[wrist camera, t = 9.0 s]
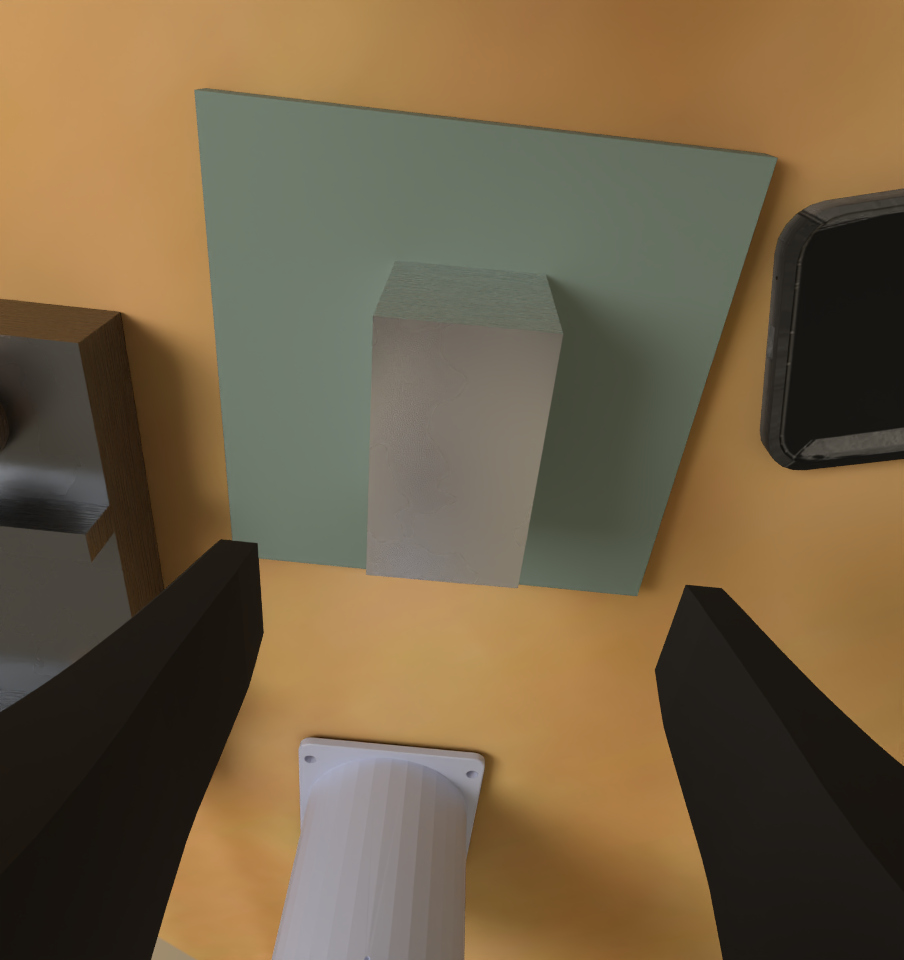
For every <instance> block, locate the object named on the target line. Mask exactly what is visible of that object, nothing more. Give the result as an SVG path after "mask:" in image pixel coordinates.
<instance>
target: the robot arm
mask: <svg viewBox="0 0 904 960" xmlns="http://www.w3.org/2000/svg"><path fill="white" fill-rule="evenodd" d="M263 633H264V631H263V616H262V601H261V586H260V571H259V556H258V543H253V542H243V541H232V540H222V539H221V540H220V541H218V542H217V543H216V544H215V545H213V546H212V547H211V548H210V549H209V550H208V551H207V552H206V553H204V554H203V555H202V556H201V557H200V558H199V559H198V560H197V561H196V562H195V563H193V564H192V565H191V566H190V567H189V568H188V569H187V570H186V571H185V572H184V573H182V574H181V575H180V576H179V577H178V578H177V579H176V580H175V581H173V582H172V583H171V584H170V585H169V586H168V587H167V588H166V589H164V590H163V591H162V592H161V593H160V594H159V595H158V596H156V597H155V598H154V599H153V600H152V601H150V602H149V603H148V604H147V605H146V606H145V607H143V608H142V609H141V610H140V611H139V612H138V613H136V614H135V615H134V616H133V617H132V618H131V619H129V620H128V621H127V622H126V623H124V624H123V625H122V626H121V627H120V628H118V629H117V630H116V631H114V632H113V633H112V634H111V635H109V636H108V637H107V638H105V639H104V640H103V641H102V642H100V643H99V644H98V645H96V646H95V647H94V648H92V649H91V650H90V651H89V652H87V653H86V654H85V655H83V656H82V657H81V658H80V659H78V660H77V661H75V662H74V663H73V664H71V665H70V666H69V667H67V668H66V669H64V670H63V671H62V672H60V673H59V674H57V675H56V676H55V677H53V678H52V679H50V680H49V681H47V682H46V683H44V684H43V685H42V686H40V687H39V688H37V689H35V690H34V691H32V692H31V693H29V694H28V695H26V696H25V697H23V698H22V699H20V700H19V701H17V702H16V703H14V704H12V705H11V706H9V707H8V708H6V709H4V710H3V711H1V712H0V960H151V958H152V954H153V951H154V947H155V944H156V940H157V937H158V934H159V930H160V927H161V923H162V920H163V916H164V913H165V910H166V906H167V903H168V900H169V896H170V893H171V890H172V887H173V883H174V880H175V877H176V874H177V870H178V867H179V864H180V861H181V857H182V854H183V851H184V848H185V844H186V841H187V838H188V836H189V833H190V830H191V828H192V825H193V822H194V819H195V817H196V814H197V811H198V809H199V807H200V804H201V802H202V799H203V797H204V795H205V792H206V790H207V787H208V785H209V783H210V780H211V778H212V775H213V773H214V770H215V768H216V766H217V763H218V761H219V758H220V756H221V754H222V751H223V749H224V746H225V744H226V742H227V739H228V737H229V734H230V732H231V730H232V727H233V725H234V722H235V720H236V717H237V715H238V712H239V710H240V708H241V705H242V703H243V700H244V698H245V695H246V693H247V690H248V688H249V684H250V681H251V677H252V674H253V670H254V667H255V663H256V660H257V656H258V652H259V648H260V644H261V641H262V637H263ZM655 674H656V681H657V688H658V695H659V702H660V708H661V714H662V720H663V725H664V729H665V733H666V737H667V740H668V744H669V747H670V751H671V754H672V758H673V761H674V765H675V768H676V772H677V775H678V779H679V782H680V785H681V789H682V792H683V796H684V799H685V802H686V806H687V809H688V813H689V816H690V819H691V823H692V826H693V830H694V833H695V836H696V840H697V843H698V846H699V850H700V853H701V857H702V861H703V865H704V869H705V873H706V877H707V881H708V885H709V889H710V894H711V899H712V905H713V910H714V915H715V920H716V925H717V931H718V936H719V941H720V946H721V952H722V957H723V960H904V766H903V765H902V764H900V763H899V762H898V761H897V760H895V759H894V758H893V757H892V756H891V755H890V754H888V753H887V752H886V751H885V750H884V749H883V748H882V747H880V746H879V745H878V744H877V743H876V742H875V741H874V740H872V739H871V738H870V737H869V736H868V735H867V734H866V733H865V732H864V731H863V730H862V729H861V728H859V727H858V726H857V725H856V724H855V723H854V722H853V721H852V720H851V719H850V718H849V717H848V716H846V715H845V714H844V713H843V712H842V711H841V710H840V709H839V708H838V707H837V706H836V705H835V704H834V703H833V702H832V701H831V700H830V699H829V698H828V697H827V696H826V695H825V694H823V693H822V692H821V691H820V690H819V689H818V688H817V687H816V686H815V685H814V684H813V683H812V682H811V681H810V680H809V679H808V678H807V677H806V676H805V675H804V674H803V673H802V671H801V670H800V669H799V668H798V667H797V666H796V665H795V664H794V663H793V662H792V661H791V660H790V659H789V658H788V657H787V656H786V655H785V654H784V653H783V652H782V651H781V650H780V649H779V648H778V647H777V646H776V644H775V643H774V642H773V641H772V640H771V639H770V638H769V637H768V636H767V635H766V634H765V633H764V632H763V631H762V630H761V629H760V628H759V626H758V625H757V624H756V623H755V622H754V621H753V620H752V619H751V618H750V617H749V616H748V615H747V614H746V613H745V612H744V611H743V609H742V608H741V607H740V606H739V605H738V604H737V603H736V602H735V601H734V600H733V599H732V598H731V597H730V596H729V595H728V594H727V593H726V592H725V591H724V590H723V589H722V588H714V587H703V586H693V585H686V586H685V588H684V591H683V594H682V597H681V599H680V602H679V605H678V608H677V610H676V613H675V616H674V619H673V622H672V624H671V627H670V630H669V633H668V635H667V638H666V641H665V644H664V646H663V649H662V652H661V655H660V657H659V660H658V663H657V666H656V668H655ZM484 769H485V758H484V757H483V756H482V755H480V754H478V753H473V752H462V751H452V750H441V749H430V748H420V747H409V746H398V745H388V744H377V743H366V742H356V741H345V740H335V739H324V738H313V737H309V738H305V739H303V740H302V741H301V743H300V747H299V781H300V820H301V834H300V838H299V842H298V847H297V851H296V856H295V860H294V864H293V869H292V873H291V878H290V882H289V886H288V891H287V895H286V899H285V904H284V908H283V913H282V917H281V921H280V926H279V930H278V934H277V939H276V943H275V948H274V952H273V956H272V960H464V946H465V886H466V859H467V854H468V849H469V844H470V839H471V834H472V829H473V824H474V819H475V814H476V809H477V804H478V799H479V794H480V789H481V784H482V779H483V774H484Z"/></svg>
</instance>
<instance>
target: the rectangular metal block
mask: <svg viewBox="0 0 904 960" xmlns="http://www.w3.org/2000/svg"><path fill="white" fill-rule="evenodd" d="M562 339H563V331H562V328H561V324H560V321H559V318H558V314H557V311H556V307H555V304H554V301H553V297H552V294H551V290H550V287H549V284H548V280H547V277H546V275H544V274H534V273H524V272H513V271H503V270H492V269H482V268H472V267H461V266H451V265H441V264H430V263H420V262H410V261H399V260H395V262H394V265H393V267H392V270H391V272H390V275H389V277H388V280H387V282H386V285H385V287H384V290H383V292H382V295H381V297H380V300H379V302H378V305H377V307H376V310H375V312H374V315H373V335H372V373H371V410H370V448H369V485H368V523H367V561H366V575H375V576H386V577H397V578H408V579H420V580H431V581H442V582H453V583H465V584H476V585H487V586H498V587H510V588H518V584H519V579H520V573H521V567H522V562H523V556H524V551H525V545H526V540H527V534H528V528H529V523H530V517H531V512H532V506H533V500H534V495H535V489H536V484H537V478H538V473H539V467H540V461H541V456H542V450H543V445H544V439H545V433H546V428H547V422H548V417H549V411H550V406H551V400H552V394H553V389H554V383H555V378H556V372H557V366H558V361H559V355H560V350H561V344H562Z"/></svg>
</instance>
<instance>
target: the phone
mask: <svg viewBox="0 0 904 960" xmlns="http://www.w3.org/2000/svg"><path fill="white" fill-rule="evenodd" d="M776 276H778V278H777V280H776ZM760 436H761V441H762V443H763V445H764V446H765V448H766V450H767V451H768V452H769V454H770V455H771V456H772V458H773V459H774V461H776V462H777V463H778V464H780V465H781V466H782V467H785V468H788V469H792V470H810V469H819V468H827V467H836V466H845V465H854V464H863V463H872V462H880V461H889V460H898V459H904V189H898V190H891V191H885V192H878V193H872V194H865V195H859V196H852V197H846V198H839V199H832V200H826V201H822V202H819V203H816V204H812V205H810V206H808V207H807V208H805V209H803V210H802V211H800V212H799V213H797V214H796V215H795V216H794V217H793V218H792V219H791V220H790V221H789V222H788V223H787V224H786V226H785V227H784V229H783V231H782V233H781V235H780V236H779V238H778V241H777V245H776V249H775V255H774V267H773V279H772V291H771V303H770V315H769V327H768V339H767V351H766V363H765V375H764V387H763V399H762V410H761V422H760Z"/></svg>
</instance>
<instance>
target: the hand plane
mask: <svg viewBox="0 0 904 960" xmlns="http://www.w3.org/2000/svg"><path fill="white" fill-rule="evenodd" d="M163 590H164V587H163V581H162V574H161V568H160V561H159V555H158V549H157V542H156V536H155V530H154V523H153V517H152V511H151V504H150V498H149V492H148V485H147V479H146V472H145V466H144V460H143V453H142V447H141V441H140V434H139V428H138V422H137V415H136V409H135V402H134V396H133V390H132V383H131V377H130V371H129V364H128V358H127V352H126V345H125V339H124V333H123V326H122V320H121V313H120V312H115V311H106V310H96V309H87V308H78V307H69V306H60V305H50V304H41V303H32V302H23V301H13V300H4V299H0V712H1V711H3V710H4V709H6V708H8V707H9V706H11V705H12V704H14V703H16V702H17V701H19V700H20V699H22V698H23V697H25V696H26V695H28V694H29V693H31V692H32V691H34V690H35V689H37V688H39V687H40V686H42V685H43V684H44V683H46V682H47V681H49V680H50V679H52V678H53V677H55V676H56V675H57V674H59V673H60V672H62V671H63V670H64V669H66V668H67V667H69V666H70V665H71V664H73V663H74V662H75V661H77V660H78V659H80V658H81V657H82V656H83V655H85V654H86V653H87V652H89V651H90V650H91V649H92V648H94V647H95V646H96V645H98V644H99V643H100V642H102V641H103V640H104V639H105V638H107V637H108V636H109V635H111V634H112V633H113V632H114V631H116V630H117V629H118V628H120V627H121V626H122V625H123V624H124V623H126V622H127V621H128V620H129V619H131V618H132V617H133V616H134V615H135V614H136V613H138V612H139V611H140V610H141V609H142V608H143V607H145V606H146V605H147V604H148V603H149V602H150V601H152V600H153V599H154V598H155V597H156V596H158V595H159V594H160V593H161V592H162V591H163Z"/></svg>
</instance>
